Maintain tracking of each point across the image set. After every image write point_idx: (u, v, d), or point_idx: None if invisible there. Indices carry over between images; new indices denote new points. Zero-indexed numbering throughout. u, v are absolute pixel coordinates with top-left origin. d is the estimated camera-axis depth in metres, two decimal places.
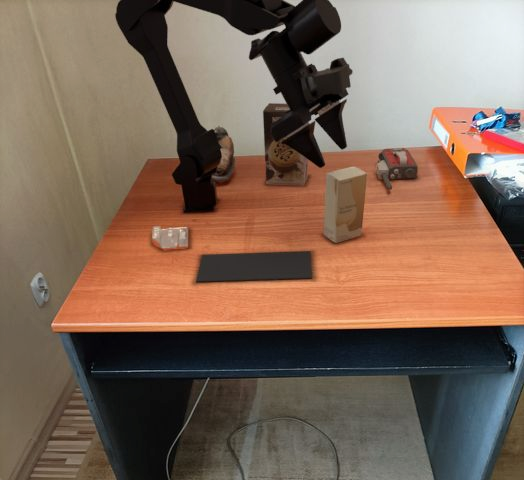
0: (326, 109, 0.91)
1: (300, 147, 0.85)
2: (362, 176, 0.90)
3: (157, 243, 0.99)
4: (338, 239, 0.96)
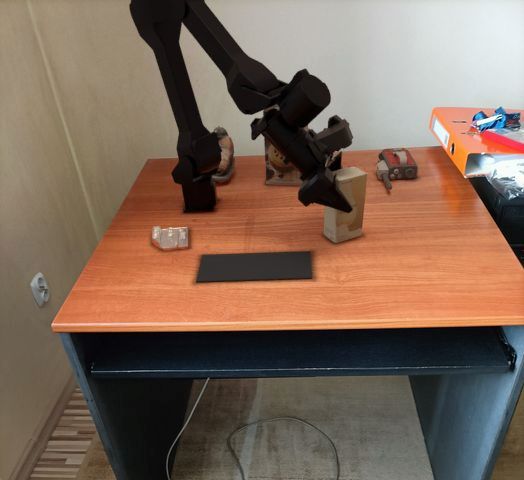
0: (326, 165, 0.95)
1: (327, 201, 0.90)
2: (362, 176, 0.90)
3: (157, 243, 0.99)
4: (338, 239, 0.96)
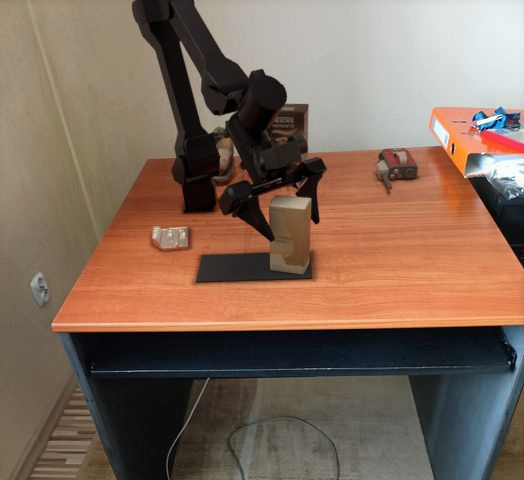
0: (302, 183, 0.87)
1: (250, 220, 0.83)
2: (297, 210, 0.81)
3: (157, 243, 0.99)
4: (273, 267, 0.89)
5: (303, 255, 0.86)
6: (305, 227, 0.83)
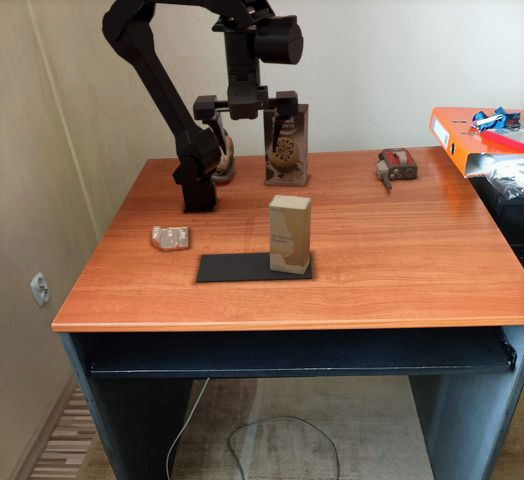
0: None
1: None
2: (297, 210, 0.81)
3: (157, 243, 0.99)
4: (273, 267, 0.89)
5: (303, 255, 0.86)
6: (305, 227, 0.83)
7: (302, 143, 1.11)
